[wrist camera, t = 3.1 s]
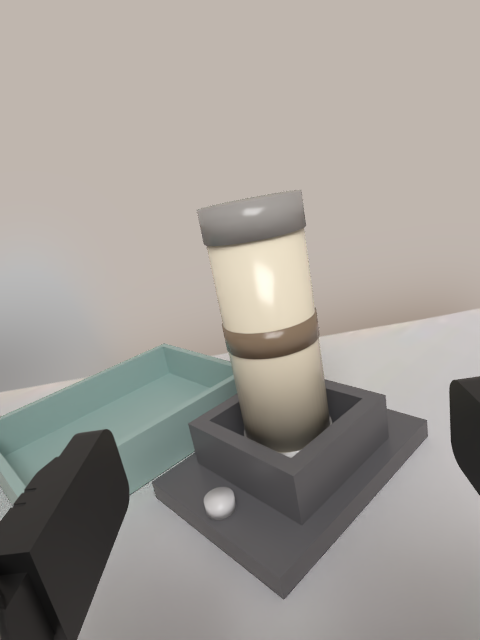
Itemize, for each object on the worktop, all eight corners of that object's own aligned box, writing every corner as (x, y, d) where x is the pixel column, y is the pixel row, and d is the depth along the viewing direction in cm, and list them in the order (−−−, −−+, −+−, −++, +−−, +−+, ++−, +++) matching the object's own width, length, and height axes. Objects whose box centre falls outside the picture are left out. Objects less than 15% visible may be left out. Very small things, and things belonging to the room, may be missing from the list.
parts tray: (42, 553, 20) (21, 502, 19) (-12, 467, 28) (-29, 429, 27) (260, 406, 29) (252, 368, 28) (172, 374, 37) (164, 343, 36)
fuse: (297, 494, 19) (247, 203, 15) (231, 458, 23) (176, 213, 19) (353, 442, 22) (323, 185, 18) (287, 417, 25) (249, 197, 21)
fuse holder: (283, 599, 16) (268, 525, 14) (156, 497, 22) (139, 441, 21) (427, 435, 23) (424, 378, 22) (299, 396, 29) (292, 350, 28)
